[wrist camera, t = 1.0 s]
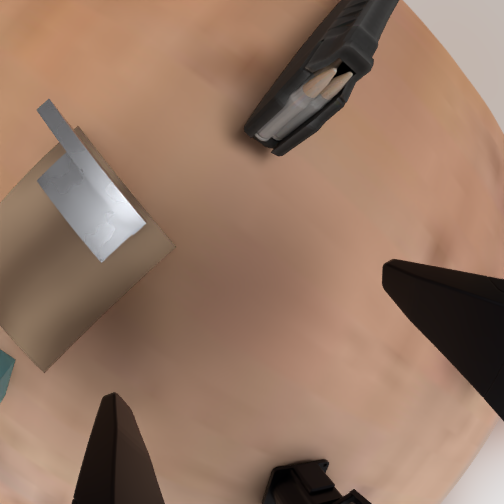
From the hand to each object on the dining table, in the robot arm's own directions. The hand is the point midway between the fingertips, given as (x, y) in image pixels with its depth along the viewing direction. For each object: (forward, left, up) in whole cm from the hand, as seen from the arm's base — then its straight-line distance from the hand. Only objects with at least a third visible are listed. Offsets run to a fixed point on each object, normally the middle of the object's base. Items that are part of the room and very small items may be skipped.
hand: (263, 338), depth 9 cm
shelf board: (-1, +10, -14) cm, 17 cm away
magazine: (+23, -8, -15) cm, 28 cm away
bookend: (+3, +8, -13) cm, 15 cm away
